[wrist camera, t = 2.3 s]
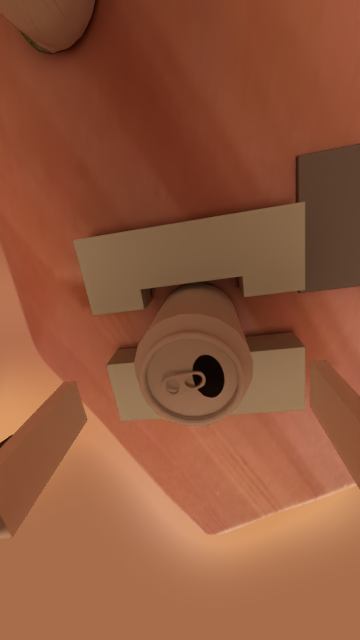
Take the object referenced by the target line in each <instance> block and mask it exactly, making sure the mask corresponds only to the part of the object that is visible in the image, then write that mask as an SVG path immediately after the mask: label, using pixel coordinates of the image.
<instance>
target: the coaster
mask: <svg viewBox="0 0 360 640" xmlns="http://www.w3.org/2000/svg"><path fill="white" fill-rule="evenodd" d="M296 193H297V203H299V202H305V290H301V291H298V292H299V293H305V292H313V291H321V290H330V289H338V288H347V287H355V286H360V144H357V145H352V146H347V147H342V148H336V149H331V150H326V151H321V152H315V153H310V154H305V155H300V156H298V157H296Z"/></svg>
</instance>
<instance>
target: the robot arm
mask: <svg viewBox="0 0 360 640" xmlns="http://www.w3.org/2000/svg"><path fill="white" fill-rule="evenodd" d="M310 407H311V409H312V411H313V412H314V414H315V416H316V417H317V419H318V421H319V422H320V424H321V426H322V427H323V429H324V431H325V432H326V434H327V436H328V437H329V439H330V441H331V442H332V444H333V445H334V447H335V449H336V450H337V452H338V454H339V455H340V457H341V459H342V460H343V462H344V464H345V465H346V467H347V469H348V470H349V472H350V474H351V475H352V477H353V479H354V480H355V482H356V484H357V485H358V487H359V489H360V396H359V395H358V394H357V393H356V392H355V391H354V390H353V389H352V388H351V387H350V386H349V384H348V383H347V382H346V381H345V380H344V379H343V378H342V377H341V376H340V375H339V374H338V373H337V372H336V371H335V370H334V369H333V368H332V366H331V365H330V364H329V363H328V362H327V361H326V360H319V361H310ZM86 421H87V417H86V414H85V410H84V407H83V404H82V401H81V397H80V394H79V391H78V388H77V384H76V381H73V382H63V383H62V385H61V386H60V387H59V388H58V389H57V390H56V391H55V392H54V393H53V394H52V395H51V396H50V397H49V398H48V399H47V400H46V401H45V402H44V403H43V404H42V405H41V406H40V408H38V409H37V411H36V412H35V413H34V414H33V415H32V416H31V417H30V418H29V419H28V420H27V421H26V422H25V423H24V424H23V425H22V426H21V427H20V428H19V429H18V430H17V432H15V433H14V434H13V435H11V436H10V437H8V438H7V439H5V440H4V441H2V442H1V443H0V538H12V537H13V536H14V534H15V533H16V531H17V530H18V528H19V526H20V525H21V523H22V522H23V520H24V519H25V517H26V516H27V514H28V512H29V511H30V509H31V508H32V506H33V505H34V503H35V501H36V500H37V498H38V497H39V495H40V494H41V492H42V490H43V489H44V487H45V486H46V484H47V482H48V481H49V479H50V478H51V476H52V475H53V473H54V472H55V470H56V469H57V467H58V465H59V463H60V462H61V461H62V459H63V458H64V456H65V454H66V453H67V451H68V450H69V448H70V447H71V445H72V443H73V442H74V440H75V439H76V437H77V436H78V434H79V433H80V431H81V429H82V428H83V426H84V425H85V423H86Z"/></svg>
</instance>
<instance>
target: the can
mask: <svg viewBox="0 0 360 640" xmlns="http://www.w3.org/2000/svg"><path fill="white" fill-rule="evenodd" d="M134 364H135V372H136V378H137V380H138V383H139V386H140V390H141V393H142V395H143V397H144V399H145V401H146V403H147V404H148V405H149V406H150V407H151V408H152V409H153V410H154V411H155V412H156V413H157V414H158V415H160V416H162V417H163V418H165V419H167V420H168V421H170V422H174V423H177V424H180V425H184V426H205V425H209V424H213V423H217V422H218V421H220V420H222V419H224V418H226V417H227V416H229V415H230V414H231V413H232V412H233V411H234V410H235V409H236V408H237V407H238V406H239V404H240V403H241V400H242V398H243V397H244V396H245V394H246V393H247V390H248V388H249V386H250V383H251V381H252V379H253V359H252V356H251V353H250V350H249V347H248V344H247V342H246V339H245V336H244V333H243V330H242V327H241V324H240V322H239V319H238V316H237V313H236V310H235V307H234V304H233V302H232V301H231V300H230V299H229V297H228V296H227V295H226V293H224V292H223V291H221V290H220V289H218V288H217V287H215V286H212V285H209V284H205V283H190V284H187V285H184V286H181V287H179V288H177V289H176V290H175V291H173V292H172V293H171V294H170V295H169V296H168V297H167V299H166V300H165V302H164V303H163V305H162V306H161V308H160V310H159V311H158V313H157V315H156V316H155V318H154V320H153V321H152V323H151V325H150V326H149V328H148V330H147V331H146V333H145V335H144V336H143V338H142V340H141V341H140V343H139V345H138V347H137V352H136V356H135V360H134Z"/></svg>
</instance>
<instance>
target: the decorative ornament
mask: <svg viewBox="0 0 360 640" xmlns="http://www.w3.org/2000/svg"><path fill="white" fill-rule="evenodd" d="M94 3H95V0H0V13H1V14H2V15H3V16H4V17H5V18H6V19H7V20H8V21H9V22H10V23H11V24H12V25H14V26H15V27H16V28H17V29H18V30H19V31H20V32H21V33H22V35H23V36H24V37H25V39H26V40H27V41H28V42H29V43H30V44H31V45H32V46H33V47H34V48H36V49H37V50H38V51H42V52H46V53H50V54H53V53H55V52H57V51H60V50H64V49H67V48H69V47H70V46H72V45H73V44H74V43H75V42H76V41H77V40H78V39H79V38H80V37H82V35H83V33H84V31H85V29H86V27H87V25H88V23H89V20H90V18H91V16H92V12H93V8H94Z"/></svg>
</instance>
